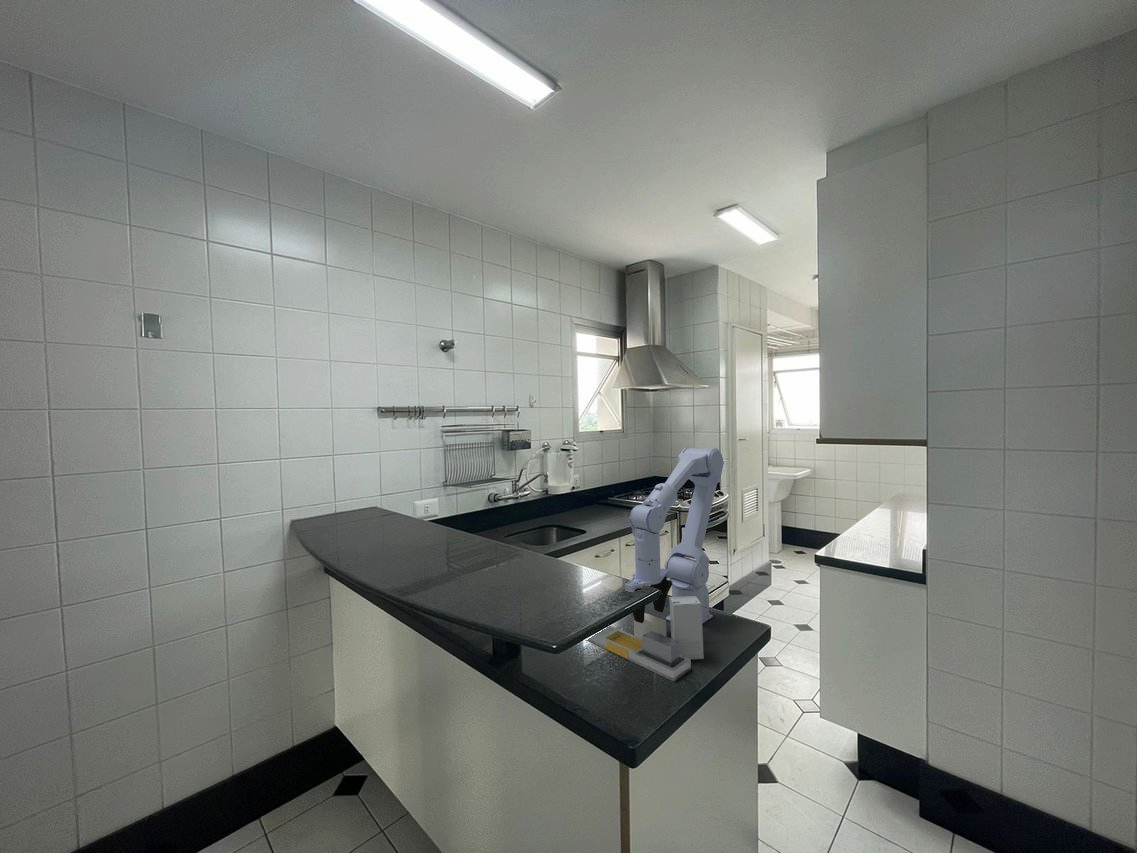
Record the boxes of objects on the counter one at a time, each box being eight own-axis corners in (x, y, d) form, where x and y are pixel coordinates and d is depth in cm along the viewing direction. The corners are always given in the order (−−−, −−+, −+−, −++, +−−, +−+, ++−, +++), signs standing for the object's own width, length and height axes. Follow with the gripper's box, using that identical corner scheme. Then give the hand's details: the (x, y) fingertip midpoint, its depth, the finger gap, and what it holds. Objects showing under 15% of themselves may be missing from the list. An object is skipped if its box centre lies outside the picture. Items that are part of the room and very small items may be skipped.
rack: (589, 624, 109) (588, 602, 109) (690, 669, 88) (690, 641, 88) (571, 633, 105) (570, 610, 105) (673, 682, 84) (672, 653, 84)
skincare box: (698, 649, 96) (696, 594, 96) (704, 660, 91) (702, 603, 91) (670, 650, 96) (668, 595, 96) (675, 661, 91) (673, 603, 91)
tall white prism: (642, 632, 105) (641, 611, 105) (666, 642, 100) (666, 620, 100) (634, 636, 103) (633, 615, 103) (658, 647, 97) (658, 624, 97)
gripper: (652, 547, 109) (653, 602, 109) (613, 561, 99) (615, 620, 99) (676, 553, 104) (678, 610, 104) (638, 568, 94) (640, 631, 94)
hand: (649, 616), depth 101 cm, fingers open, 7 cm apart
